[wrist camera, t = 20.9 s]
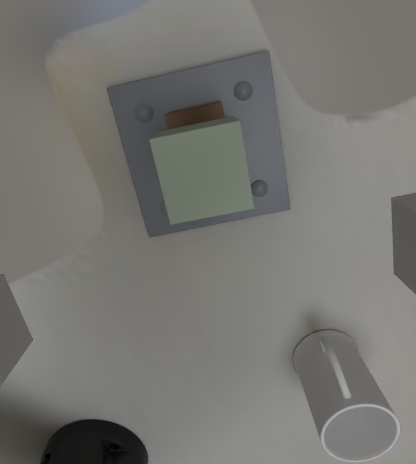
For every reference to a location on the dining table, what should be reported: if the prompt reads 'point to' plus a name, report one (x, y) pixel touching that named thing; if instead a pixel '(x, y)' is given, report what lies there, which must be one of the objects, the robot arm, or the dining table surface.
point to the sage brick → (202, 170)
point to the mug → (344, 398)
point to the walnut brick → (194, 115)
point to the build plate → (234, 104)
